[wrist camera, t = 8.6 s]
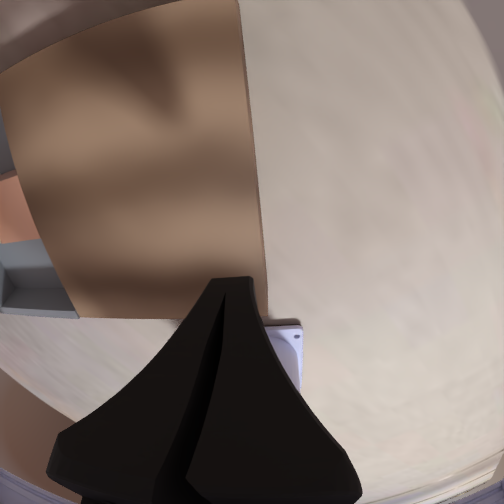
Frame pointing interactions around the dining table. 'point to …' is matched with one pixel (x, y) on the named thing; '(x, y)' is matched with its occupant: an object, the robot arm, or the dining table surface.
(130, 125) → the tan slab
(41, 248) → the box
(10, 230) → the terracotta tile
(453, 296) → the dining table surface
